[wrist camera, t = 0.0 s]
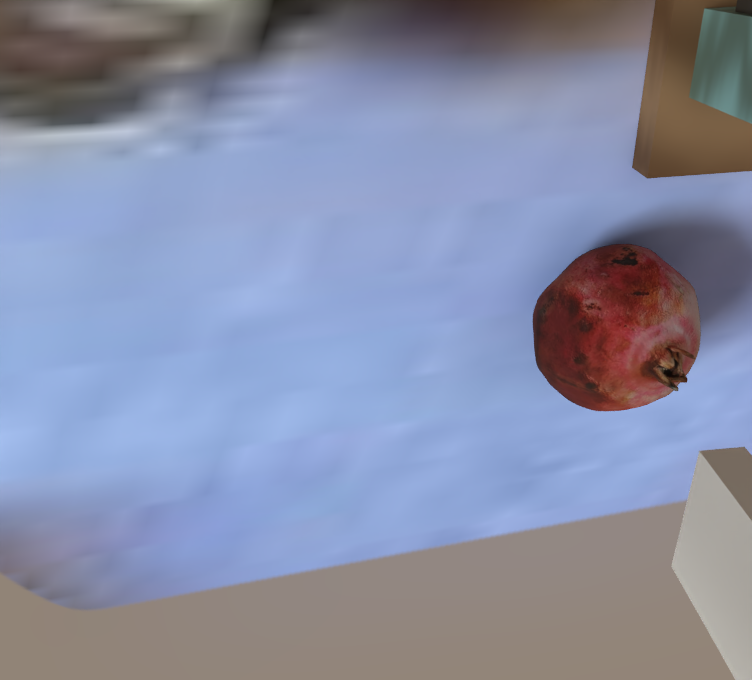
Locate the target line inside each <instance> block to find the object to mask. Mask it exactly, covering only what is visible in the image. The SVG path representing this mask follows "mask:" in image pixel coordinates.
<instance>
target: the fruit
mask: <svg viewBox="0 0 752 680" xmlns="http://www.w3.org/2000/svg"><path fill="white" fill-rule="evenodd" d="M533 332H534V349H535V357H536V363H537V366H538V368H539V370H540V371H541V372H542V374H543V375H544V376H545V378H546V379H547V381H548V382H549V383H550V385H551V386H552V387H554V388H555V389H556V390H557V391H558V392H559V393H560V394H562V395H563V396H564V397H565V398H567V399H568V400H570V401H571V402H573V403H575V404H577V405H579V406H582V407H585V408H588V409H591V410H596V411H620V410H627V409H631V408H636V407H641V406H644V405H647V404H649V403H652V402H654V401H656V400H658V399H660V398H663V397H665V396H667V395H669V394H670V393H671V392H672V391H673V390H675V391H678V387H677V386H678V384H679V383H680V382H687V377H686V375H687V374H688V372H689V371H690V369H691V367H692V365H693V364H694V362H695V359H696V357H697V354H698V351H699V346H700V336H701V332H700V316H699V308H698V302H697V297H696V293H695V290H694V288H693V287H692V285H691V284H690V283H689V282H688V281H687V280H686V279H685V278H684V277H683V276H682V275H681V274H680V273H678V272H677V271H676V270H675V269H674V268H673V267H671V266H670V265H669V264H667V263H666V262H665V261H663V260H662V259H661V258H660V257H659V256H658V255H657V254H656V253H654V252H653V251H651V250H649V249H648V248H644V247H641V246H637V245H632V244H615V245H609V246H604V247H600V248H597V249H594V250H591V251H589V252H587V253H585V254H583V255H581V256H579V257H578V258H576V259H575V260H574V261H573V262H572V263H571V264H570V265H569V266H568V267H567V268H566V269H565V270H564V271H563V272H562V273H561V274H560V275H559V276H558V277H557V278H556V279H555V280H554V281H553V282H552V283H551V284H550V285H549V286H548V287H547V288H546V289H545V290H544V292H543V293H542V294H541V295H540V297H539V298H538V300H537V303H536V306H535V309H534V313H533Z"/></svg>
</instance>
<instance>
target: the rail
mask: <svg viewBox="0 0 752 680" xmlns="http://www.w3.org/2000/svg"><path fill="white" fill-rule="evenodd" d="M632 168H634V169H635V170H637V171H638V172H639V173H641V174H642V175H643V176H645V177H646V178H658V177H672V176H686V175H700V174H714V173H728V172H741V171H752V0H656V2H655V10H654V17H653V24H652V31H651V38H650V45H649V52H648V59H647V66H646V74H645V81H644V88H643V95H642V102H641V109H640V116H639V123H638V130H637V138H636V145H635V152H634V159H633V166H632Z"/></svg>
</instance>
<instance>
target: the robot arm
mask: <svg viewBox="0 0 752 680" xmlns="http://www.w3.org/2000/svg"><path fill="white" fill-rule="evenodd" d="M672 568H673V570H674V571H675V573H676V575H677V577H678V579H679V580H680V582H681V584H682V586H683V587H684V589H685V591H686V593H687V595H688V596H689V598H690V600H691V602H692V603H693V605H694V607H695V609H696V610H697V612H698V614H699V615H700V618H701V619H702V621H703V623H704V624H705V626H706V628H707V630H708V632H709V633H710V635H711V637H712V639H713V640H714V642H715V644H716V646H717V648H718V649H719V651H720V652H721V655H722V657H723V658H724V660H725V662H726V664H727V665H728V667H729V669H730V671H731V672H732V674H733V676H734V678H735V680H752V455H751V454H750V453H749V452H748V451H747V449H746V448H745V447H739V448H727V449H716V450H704V451H699V455H698V459H697V463H696V467H695V471H694V475H693V480H692V484H691V488H690V492H689V496H688V500H687V504H686V508H685V513H684V517H683V521H682V525H681V529H680V533H679V537H678V541H677V546H676V550H675V554H674V558H673V562H672Z"/></svg>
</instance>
